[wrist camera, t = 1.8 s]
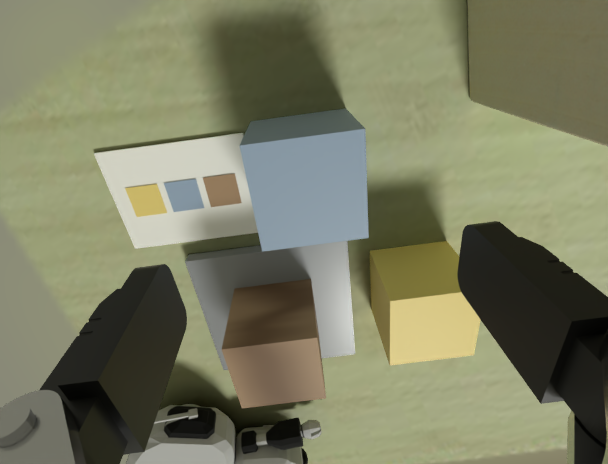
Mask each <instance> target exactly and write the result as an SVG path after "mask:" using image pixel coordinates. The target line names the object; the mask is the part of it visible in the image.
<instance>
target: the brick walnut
mask: <svg viewBox="0 0 608 464" xmlns="http://www.w3.org/2000/svg"><path fill="white" fill-rule="evenodd" d="M222 352H223V355H224V358H225V361H226V364H227V367H228V370H229V373H230V376H231V378H232V381H233V384H234V387H235V390H236V393H237V396H238V399H239V401H240V404H241V407H242V408H250V407H258V406H266V405H275V404H283V403H291V402H300V401H308V400H316V399H325V398H326V393H325V385H324V376H323V367H322V358H321V349H320V340H319V332H318V325H317V318H316V311H315V303H314V296H313V289H312V282H311V279H306V280H298V281H290V282H282V283H274V284H266V285H259V286H251V287H243V288H235V289H234V293H233V298H232V302H231V307H230V312H229V317H228V321H227V326H226V331H225V335H224V340H223V345H222Z"/></svg>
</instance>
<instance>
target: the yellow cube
mask: <svg viewBox="0 0 608 464" xmlns="http://www.w3.org/2000/svg"><path fill="white" fill-rule="evenodd" d="M458 264H459V256H458V254H457V253H456V252H455V251H454V250H453V248H452V247H451V246H450V245H449V243H448V242H447V241H442V242H435V243H427V244H419V245H411V246H403V247H395V248H387V249H380V250H372V251H370V281H371V309H372V312H373V315H374V318H375V322H376V325H377V328H378V331H379V334H380V337H381V340H382V343H383V346H384V349H385V352H386V355H387V358H388V361H389V365H398V364H406V363H414V362H423V361H431V360H439V359H447V358H455V357H463V356H471V355H474V352H475V347H476V341H477V336H478V330H479V325H480V318H479V317H478V315H477V314H476V312H475V311H474V310H473V308H472V307H471V305H470V304H469V303H468V301H467V300H466V298H465V297H464V296H463V294H462V292H461V290H460V287H459V283H458V277H457V272H458Z"/></svg>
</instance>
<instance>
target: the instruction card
mask: <svg viewBox="0 0 608 464" xmlns="http://www.w3.org/2000/svg"><path fill="white" fill-rule="evenodd" d="M243 137H244V134H243V133H236V134H229V135H222V136H214V137H207V138H200V139H192V140H185V141H178V142H170V143H163V144H156V145H148V146H141V147H134V148H126V149H119V150H112V151H104V152H97V153H94V155H95V158H96V160H97V162H98V164H99V167H100V169H101V171H102V174H103V176H104V178H105V181H106V183H107V185H108V187H109V190H110V192H111V194H112V197H113V199H114V201H115V203H116V206H117V208H118V210H119V213H120V215H121V217H122V220H123V222H124V224H125V226H126V229H127V231H128V233H129V236H130V238H131V240H132V243H133V245H134V247H135V249H137V248H144V247H152V246H160V245H167V244H175V243H183V242H190V241H198V240H206V239H213V238H221V237H229V236H236V235H244V234H252V233H258V230H257V225H256V220H255V216H254V211H253V206H252V202H251V197H250V193H249V188H248V183H247V179H246V174H245V169H244V165H243V160H242V156H241V151H240V146H239V145H240V143H241V141H242V139H243Z"/></svg>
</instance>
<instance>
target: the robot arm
mask: <svg viewBox="0 0 608 464" xmlns="http://www.w3.org/2000/svg"><path fill="white" fill-rule="evenodd" d="M457 277H458V283H459V287H460V290H461V292H462V294H463V296H464V297H465V298H466V300H467V301H468V303H469V304H470V305H471V307H472V308H473V310H474V311H475V312H476V314H477V315H478V317H479V318H480V319H481V321H482V322H483V323H484V325H485V326H486V328H487V329H488V330H489V332H490V333H491V335H492V336H493V337H494V339H495V340H496V342H497V343H498V344H499V346H500V347H501V349H502V350H503V351H504V353H505V354H506V356H507V357H508V358H509V360H510V361H511V363H512V364H513V365H514V367H515V368H516V370H517V371H518V372H519V374H520V375H521V376H522V378H523V379H524V381H525V382H526V383H527V385H528V386H529V388H530V389H531V390H532V392H533V393H534V395H535V396H536V397H537V399H538V400H539V402H540V403H541V404H542V403H550V402H558V401H565V402H566V404H567V405H568V406H569V408H570V409H571V413H570V415H569V417H568V438H567V464H608V297H607V296H606V295H604V294H603V293H602V292H600V291H599V290H598V289H597V288H595V287H594V286H593V285H592V284H590V283H589V282H588V281H586V280H585V279H584V278H583V277H581V276H580V275H579V274H577V273H573V270H572V269H571V268H570V267H569V266H567V265H566V264H565V263H563V262H560V261H559V259H558V258H557V257H556V256H554V255H553V254H552V253H551V252H549V251H548V250H547V249H545V248H544V247H543V246H541V245H538V244H536V243H534V242H532V241H529V240H527V239H525V238H523V237H517V236H516V235H515V234H514V233H513V232H511V231H510V230H509V229H508V228H506V227H505V226H504V225H503V224H502V223H500V222H497V221H495V222H487V223H480V224H472V225H467V226H466V227H465V228H464V230H463V234H462V242H461V249H460V257H459V264H458V272H457ZM186 324H187V316H186V310H185V306H184V304H183V301H182V299H181V296H180V293H179V291H178V288H177V286H176V283H175V281H174V278H173V275H172V273H171V271H170V269H169V267H168V266H167V265H165V264H162V265H155V266H147V267H139V268H135V269H134V270H133V271H132V273H131V274H130V276H129V277H128V279H127V280H126V282H125V283H124V285H123V286H122V288H121V289H117V290H115V291H114V292H113V293H112V294H111V295H109V296H108V297H107V298H106V299H105V300H103V301H102V302H101V303H100V304H99V305H98V307H97V308H96V310H95V311H94V313H93V314H92V315H91V317H90V318H89V322H88V323H86V324H85V325H84V327H83V328H82V330H81V331H80V333H79V334H80V335H79V336H77V337H76V339H75V340H74V341H73V343H72V344H71V346H70V347H69V348H68V350H67V351H66V353H65V354H64V356H63V357H62V358H61V360H60V361H59V363H58V364H57V366H56V367H55V369H54V370H53V371H52V373H51V374H50V376H49V377H48V378H47V380H46V382H45V383H44V384H43V386H42V387H41V389H40V390H39V391H34V392H31V393H28V394H25V395H23V396H21V397H18V398H16V399H14V400H13V401H11V402H9V403H8V404H6V405H4V406H3V407H2V408H0V464H120V461H121V459H122V456H123V455H124V454H132V453H140V452H145V449H146V446H147V443H148V440H149V437H150V434H151V431H152V428H153V425H154V422H155V419H156V416H157V413H158V410H159V407H160V404H161V401H162V399H163V396H164V393H165V390H166V387H167V384H168V381H169V378H170V375H171V372H172V369H173V366H174V363H175V360H176V357H177V354H178V351H179V348H180V345H181V342H182V339H183V336H184V333H185V330H186Z"/></svg>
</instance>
